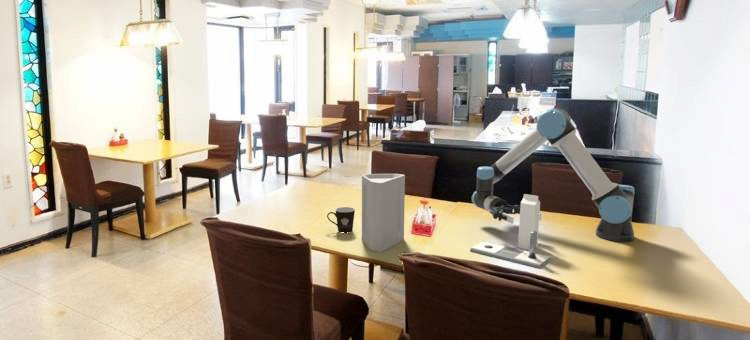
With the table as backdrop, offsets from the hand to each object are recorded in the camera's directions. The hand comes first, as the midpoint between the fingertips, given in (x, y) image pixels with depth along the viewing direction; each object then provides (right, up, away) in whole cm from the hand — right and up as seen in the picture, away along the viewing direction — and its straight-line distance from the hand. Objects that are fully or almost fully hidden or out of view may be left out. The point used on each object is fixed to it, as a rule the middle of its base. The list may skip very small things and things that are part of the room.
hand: (526, 218), depth 201 cm
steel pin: (-2, -13, -13) cm, 19 cm away
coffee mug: (-76, -8, +22) cm, 80 cm away
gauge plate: (-9, -13, -7) cm, 18 cm away
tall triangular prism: (-60, -11, +7) cm, 62 cm away
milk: (+1, -12, +2) cm, 12 cm away
